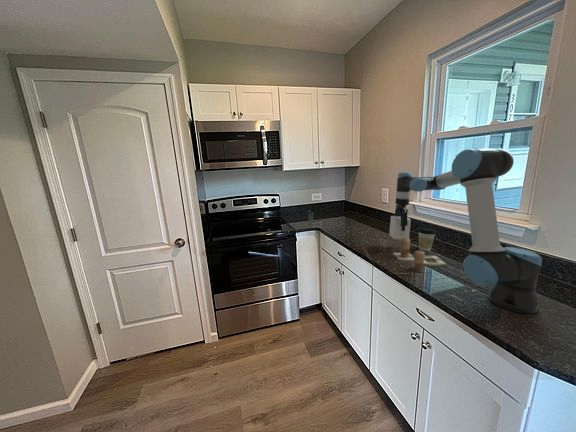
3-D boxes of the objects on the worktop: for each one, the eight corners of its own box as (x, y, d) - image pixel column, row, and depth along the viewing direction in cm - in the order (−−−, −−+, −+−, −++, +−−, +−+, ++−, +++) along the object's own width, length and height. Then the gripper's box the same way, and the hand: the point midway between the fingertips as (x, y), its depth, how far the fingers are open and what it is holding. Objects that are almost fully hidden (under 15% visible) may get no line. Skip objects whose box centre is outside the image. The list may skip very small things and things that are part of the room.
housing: (408, 239, 152) (411, 219, 149) (393, 239, 153) (395, 219, 150) (403, 234, 161) (405, 215, 158) (389, 234, 162) (390, 215, 159)
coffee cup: (435, 254, 153) (438, 231, 150) (418, 253, 155) (421, 231, 151) (430, 249, 162) (432, 227, 159) (414, 248, 164) (416, 226, 161)
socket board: (446, 268, 134) (446, 264, 134) (423, 268, 135) (423, 263, 135) (435, 259, 146) (435, 255, 145) (414, 259, 147) (414, 255, 146)
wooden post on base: (416, 262, 142) (419, 242, 139) (398, 262, 143) (400, 242, 140) (409, 255, 153) (411, 236, 150) (392, 255, 154) (394, 236, 151)
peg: (423, 273, 130) (426, 253, 127) (415, 273, 130) (417, 253, 127) (420, 269, 134) (422, 250, 131) (411, 269, 134) (413, 250, 132)
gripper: (416, 201, 140) (412, 238, 146) (402, 195, 161) (399, 228, 167) (402, 201, 141) (399, 238, 146) (390, 195, 162) (387, 228, 167)
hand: (399, 233), depth 156 cm, fingers closed on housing, 9 cm apart
